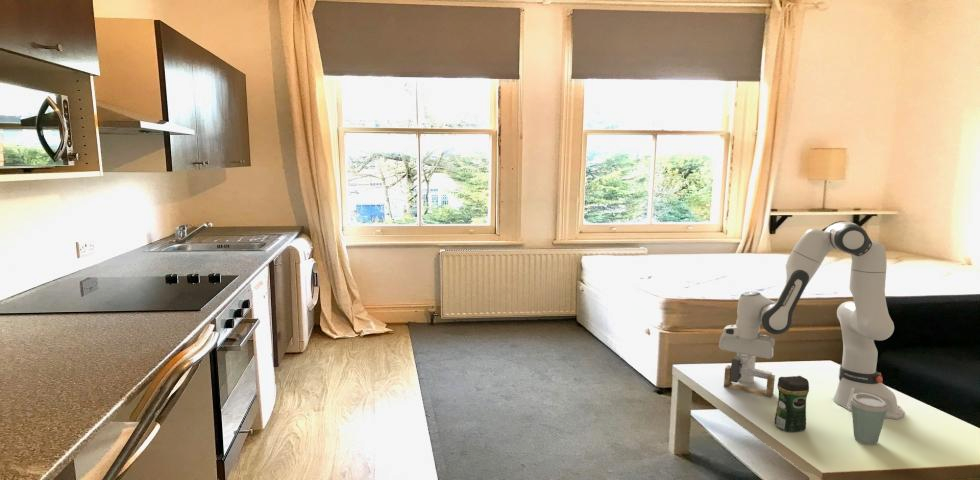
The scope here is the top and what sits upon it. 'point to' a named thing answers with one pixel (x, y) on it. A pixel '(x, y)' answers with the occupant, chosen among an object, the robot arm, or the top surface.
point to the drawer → (767, 392)
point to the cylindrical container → (751, 365)
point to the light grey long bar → (753, 372)
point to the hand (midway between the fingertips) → (744, 364)
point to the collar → (735, 369)
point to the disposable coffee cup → (867, 417)
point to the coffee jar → (792, 403)
